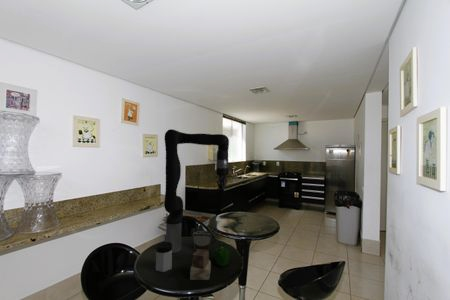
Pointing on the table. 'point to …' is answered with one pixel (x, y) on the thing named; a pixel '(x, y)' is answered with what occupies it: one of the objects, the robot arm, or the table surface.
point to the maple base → (200, 272)
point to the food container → (202, 240)
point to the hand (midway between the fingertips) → (222, 195)
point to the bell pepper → (222, 256)
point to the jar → (163, 256)
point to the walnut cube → (200, 259)
